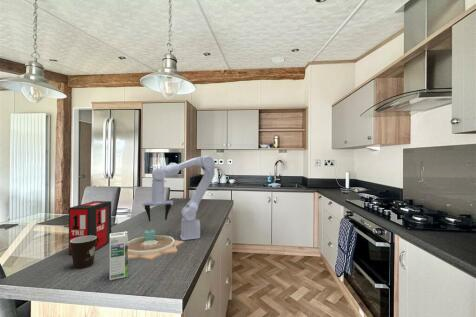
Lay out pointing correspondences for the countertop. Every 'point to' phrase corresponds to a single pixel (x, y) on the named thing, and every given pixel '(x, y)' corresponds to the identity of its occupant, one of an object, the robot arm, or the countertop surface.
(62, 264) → the countertop surface
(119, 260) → the syrup box
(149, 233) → the bead
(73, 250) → the coffee mug
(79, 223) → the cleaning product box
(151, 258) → the ring tray
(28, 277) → the countertop surface
